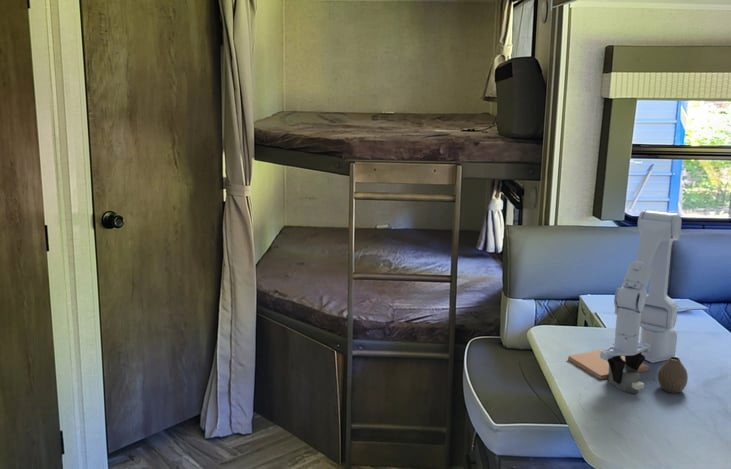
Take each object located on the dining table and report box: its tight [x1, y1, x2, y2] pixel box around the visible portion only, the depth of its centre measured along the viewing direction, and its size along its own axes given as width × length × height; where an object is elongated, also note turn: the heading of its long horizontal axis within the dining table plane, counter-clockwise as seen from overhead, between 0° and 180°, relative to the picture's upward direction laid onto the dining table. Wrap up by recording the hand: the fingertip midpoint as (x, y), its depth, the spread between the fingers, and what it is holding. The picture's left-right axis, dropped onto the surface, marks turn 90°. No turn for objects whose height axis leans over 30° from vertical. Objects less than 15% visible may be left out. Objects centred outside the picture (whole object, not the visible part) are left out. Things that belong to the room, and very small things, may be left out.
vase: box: [657, 356, 688, 394], centre depth 169 cm, size 7×7×9 cm
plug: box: [607, 365, 645, 395], centre depth 171 cm, size 4×11×5 cm, turn 20°
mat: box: [568, 348, 649, 380], centre depth 185 cm, size 16×14×1 cm
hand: (623, 380), depth 172 cm, fingers closed on plug, 4 cm apart
